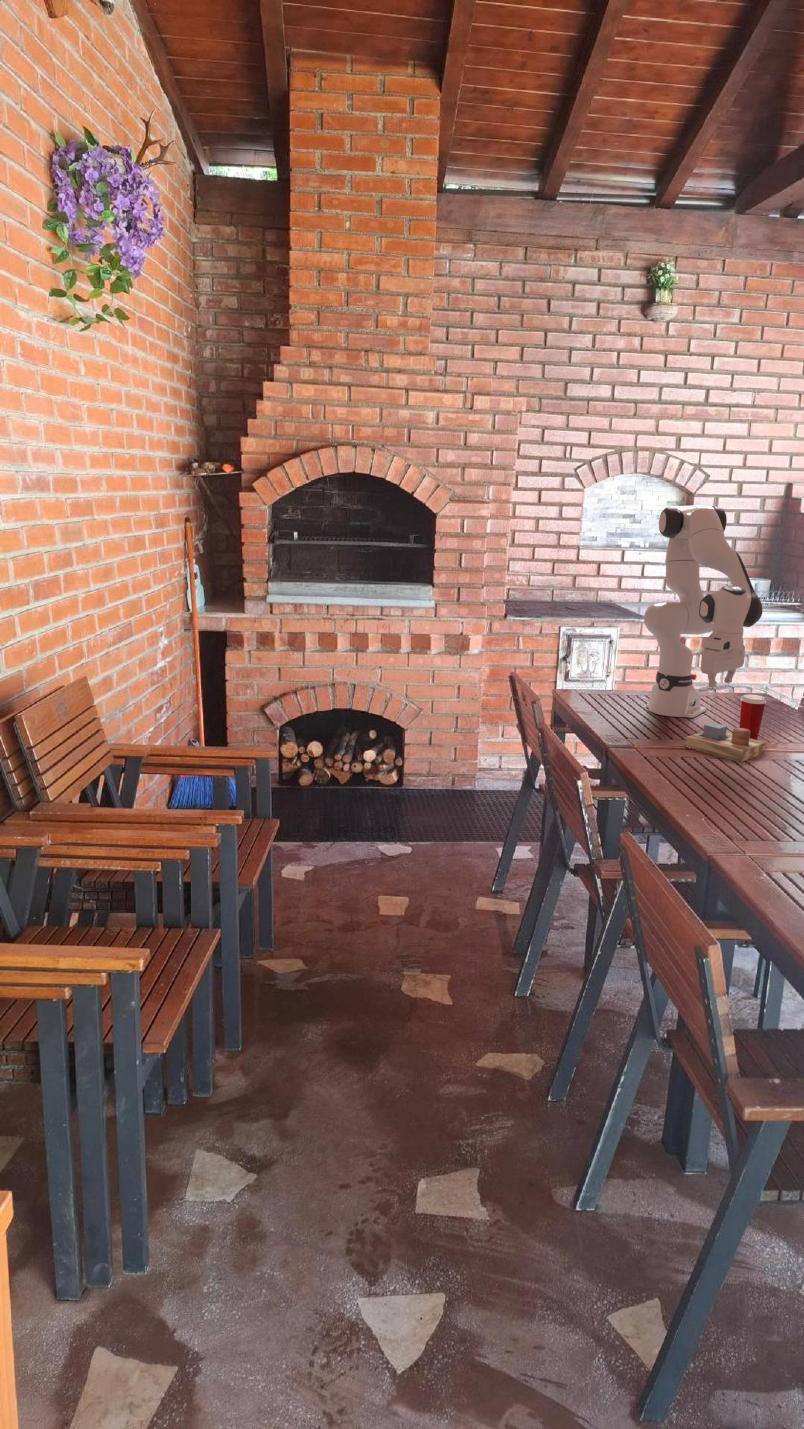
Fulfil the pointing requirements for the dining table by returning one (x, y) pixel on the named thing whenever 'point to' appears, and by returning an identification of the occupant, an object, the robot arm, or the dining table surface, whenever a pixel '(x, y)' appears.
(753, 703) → the paper cup
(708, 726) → the slate block
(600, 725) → the dining table surface
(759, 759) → the dining table surface
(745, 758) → the assembly board
